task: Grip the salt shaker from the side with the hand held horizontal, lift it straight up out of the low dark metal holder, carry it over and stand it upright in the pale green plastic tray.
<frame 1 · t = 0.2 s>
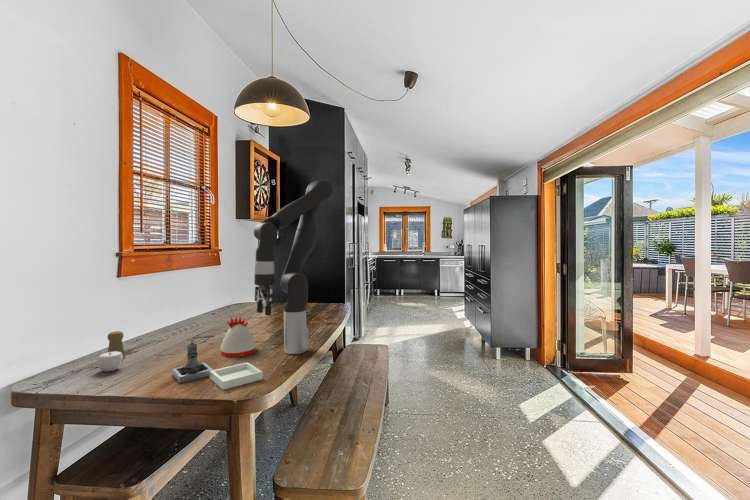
hand: (263, 314, 141), 18 cm above the table, tool pointing down, fingers open, 8 cm apart
kitchen timer: (238, 352, 152), on the table
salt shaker: (192, 375, 125), resting in holder
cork: (116, 359, 143), on the table
tray: (236, 378, 121), on the table
holder: (192, 374, 125), on the table
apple: (110, 370, 131), on the table
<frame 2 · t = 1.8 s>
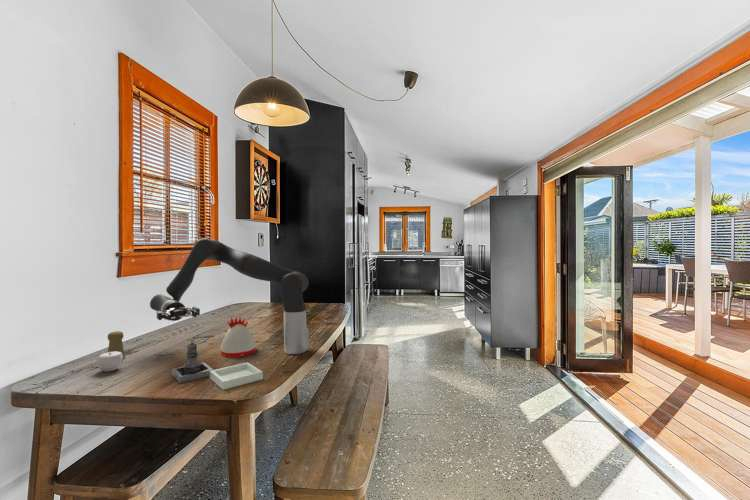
hand: (183, 316, 133), 19 cm above the table, tool horizontal, fingers open, 8 cm apart
nothing on the table moved.
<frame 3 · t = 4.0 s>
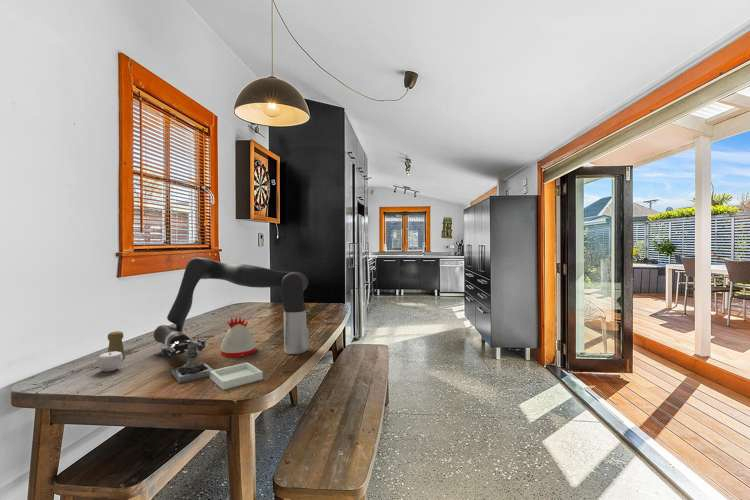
hand: (188, 350, 129), 7 cm above the table, tool horizontal, fingers open, 8 cm apart
nothing on the table moved.
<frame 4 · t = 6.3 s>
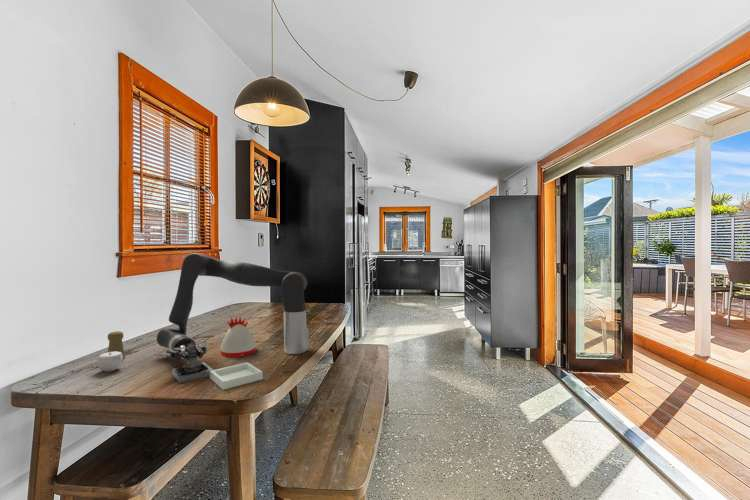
hand: (194, 356, 123), 7 cm above the table, tool horizontal, fingers closed on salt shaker, 3 cm apart
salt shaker: (192, 375, 125), resting in holder, touching gripper
everything else where it was.
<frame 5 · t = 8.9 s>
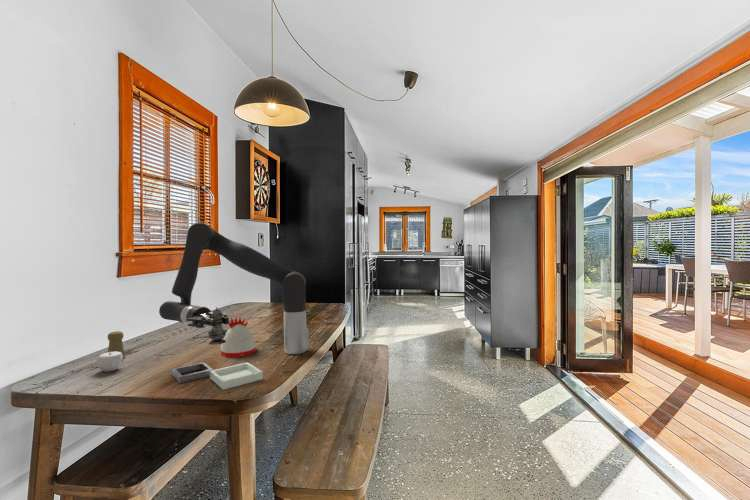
hand: (221, 322, 120), 19 cm above the table, tool horizontal, fingers closed on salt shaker, 3 cm apart
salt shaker: (217, 342, 122), point 12 cm above the table, touching gripper
everything else where it was.
when the fingers open (9 cm above the table, at t = 11.8 s): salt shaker stays where it is, resting on tray.
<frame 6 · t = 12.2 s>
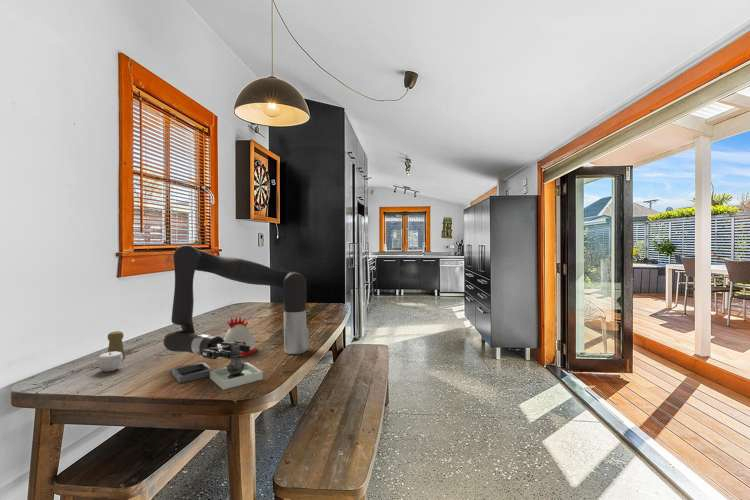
hand: (240, 352, 120), 9 cm above the table, tool horizontal, fingers open, 7 cm apart
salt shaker: (236, 376, 121), point 1 cm above the table, touching tray
everything else where it was.
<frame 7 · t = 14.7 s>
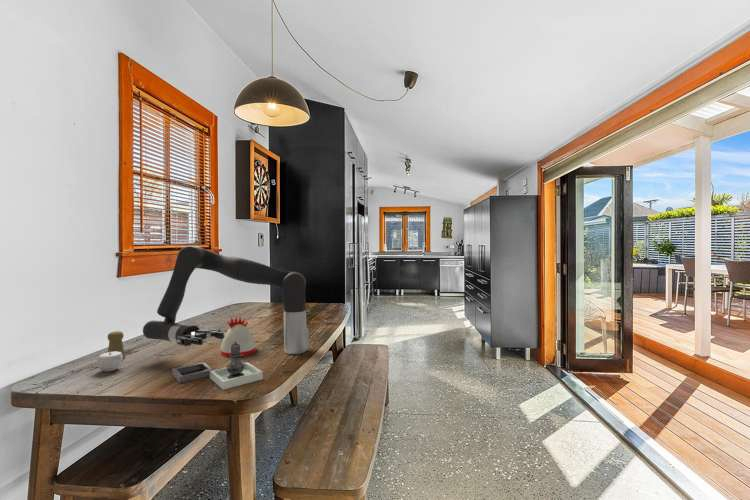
hand: (212, 338, 127), 12 cm above the table, tool horizontal, fingers open, 8 cm apart
nothing on the table moved.
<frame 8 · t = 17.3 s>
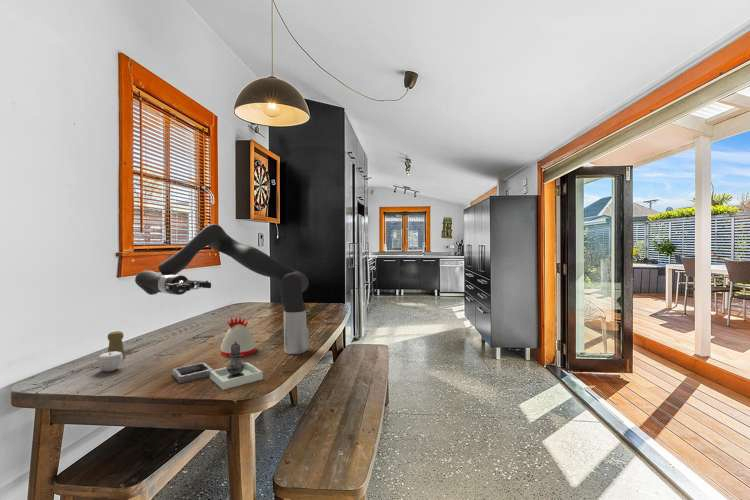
hand: (200, 286, 132), 30 cm above the table, tool horizontal, fingers open, 8 cm apart
nothing on the table moved.
at the end: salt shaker inside the target area on the tray (0.1 cm from its centre), point 0.6 cm above the tray's base; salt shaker tilted 0°; the gripper is holding nothing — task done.
